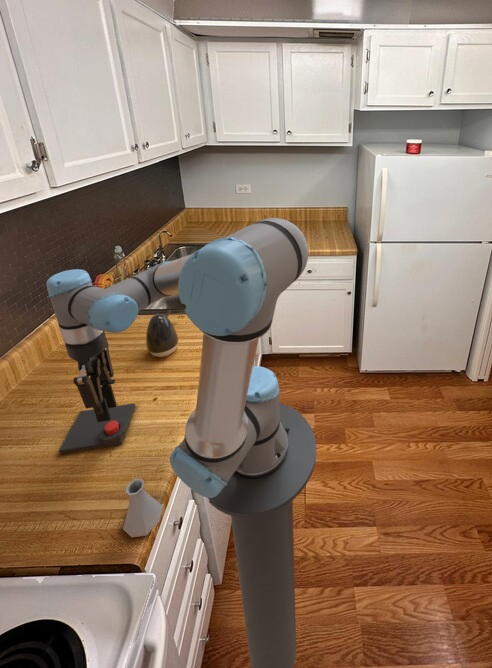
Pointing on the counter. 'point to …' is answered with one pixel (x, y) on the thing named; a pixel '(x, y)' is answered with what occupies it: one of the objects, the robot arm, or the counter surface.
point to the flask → (141, 510)
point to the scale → (97, 430)
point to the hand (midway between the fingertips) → (107, 413)
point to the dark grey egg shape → (161, 335)
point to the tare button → (111, 427)
